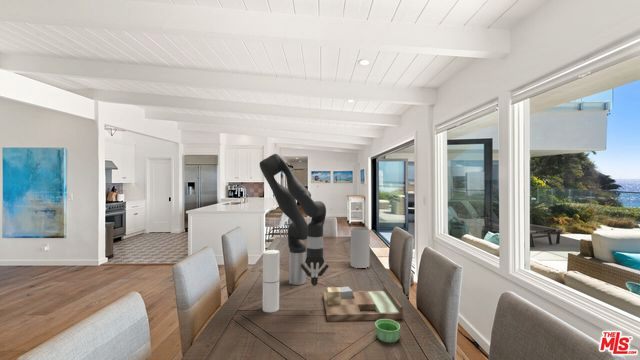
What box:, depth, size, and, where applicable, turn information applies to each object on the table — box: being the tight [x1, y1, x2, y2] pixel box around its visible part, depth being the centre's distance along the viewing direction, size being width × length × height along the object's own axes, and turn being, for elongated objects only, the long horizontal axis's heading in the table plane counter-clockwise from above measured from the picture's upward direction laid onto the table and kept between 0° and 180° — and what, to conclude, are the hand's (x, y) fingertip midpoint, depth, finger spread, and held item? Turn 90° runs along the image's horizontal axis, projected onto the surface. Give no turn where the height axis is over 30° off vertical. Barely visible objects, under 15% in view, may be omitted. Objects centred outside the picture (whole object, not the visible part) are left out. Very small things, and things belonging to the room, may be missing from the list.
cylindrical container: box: [262, 249, 280, 313], centre depth 122 cm, size 7×7×25 cm
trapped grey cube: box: [339, 286, 354, 299], centre depth 131 cm, size 6×6×6 cm
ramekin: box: [374, 319, 401, 343], centre depth 101 cm, size 9×9×4 cm
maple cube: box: [326, 286, 341, 305], centre depth 124 cm, size 6×6×6 cm
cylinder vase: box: [350, 226, 371, 269], centre depth 185 cm, size 12×12×25 cm
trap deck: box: [322, 285, 404, 322], centre depth 125 cm, size 31×24×5 cm
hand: (314, 285), depth 123 cm, fingers closed
